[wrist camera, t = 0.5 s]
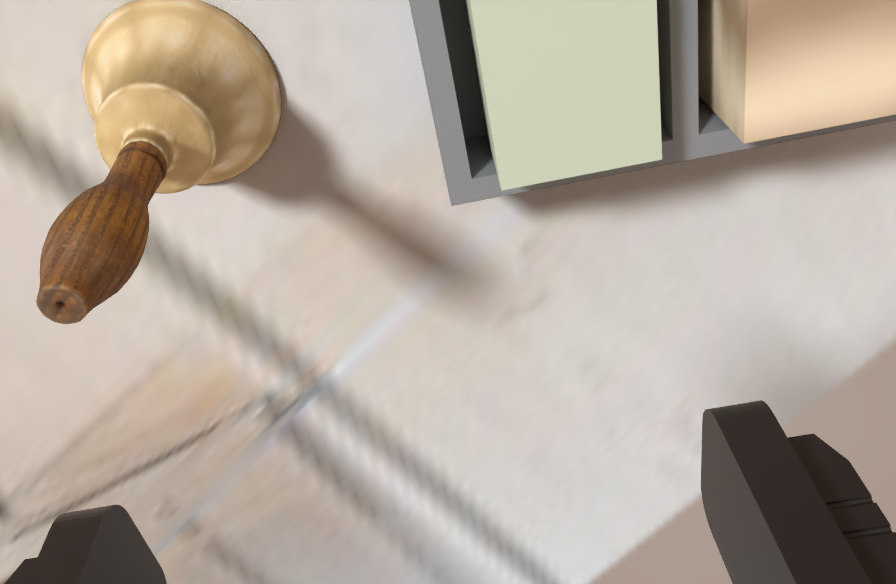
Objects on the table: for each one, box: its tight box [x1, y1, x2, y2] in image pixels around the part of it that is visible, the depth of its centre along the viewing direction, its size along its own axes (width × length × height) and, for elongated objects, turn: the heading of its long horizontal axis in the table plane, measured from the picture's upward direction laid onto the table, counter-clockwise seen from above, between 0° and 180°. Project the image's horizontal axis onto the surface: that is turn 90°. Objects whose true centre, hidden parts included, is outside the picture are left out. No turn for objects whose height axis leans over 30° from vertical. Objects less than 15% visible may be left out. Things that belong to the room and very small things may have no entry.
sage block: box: [464, 0, 662, 191], centre depth 29 cm, size 10×6×6 cm, turn 11°
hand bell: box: [36, 0, 282, 324], centre depth 27 cm, size 8×8×16 cm
